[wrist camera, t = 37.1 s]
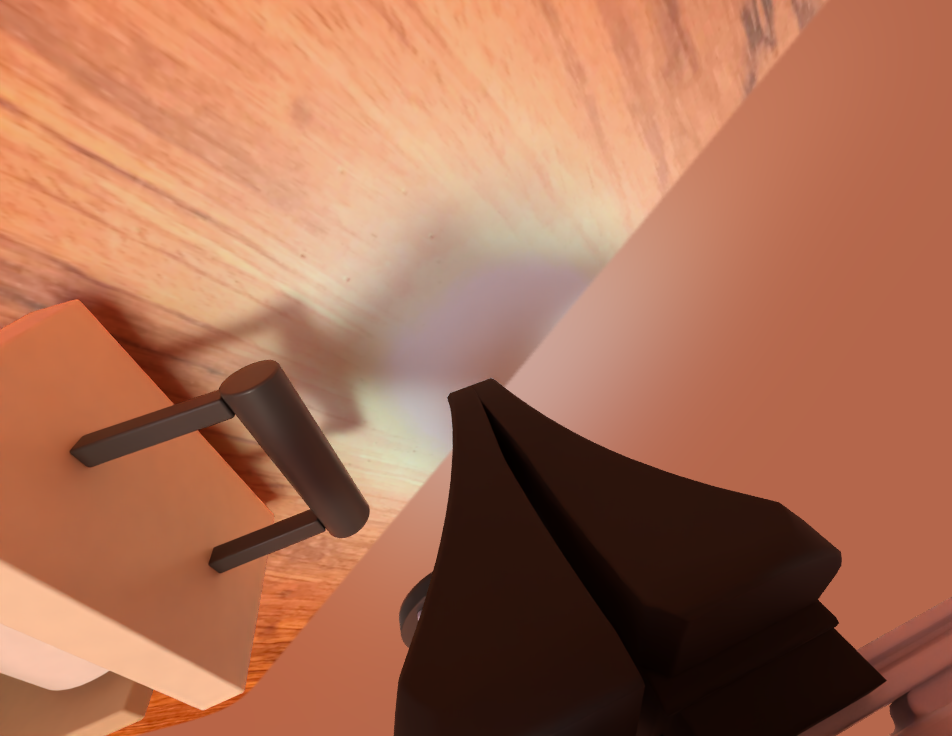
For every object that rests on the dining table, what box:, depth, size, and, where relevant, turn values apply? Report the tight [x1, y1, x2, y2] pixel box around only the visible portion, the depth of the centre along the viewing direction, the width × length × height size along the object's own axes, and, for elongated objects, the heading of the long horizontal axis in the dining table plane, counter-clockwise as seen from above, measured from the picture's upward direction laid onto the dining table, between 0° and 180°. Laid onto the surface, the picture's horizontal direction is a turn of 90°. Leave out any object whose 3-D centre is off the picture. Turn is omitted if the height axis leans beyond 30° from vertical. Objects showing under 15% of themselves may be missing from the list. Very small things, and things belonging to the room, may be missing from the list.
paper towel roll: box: [0, 624, 110, 691], centre depth 10 cm, size 4×7×4 cm, turn 13°
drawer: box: [0, 300, 370, 736], centre depth 10 cm, size 17×10×6 cm, turn 103°
